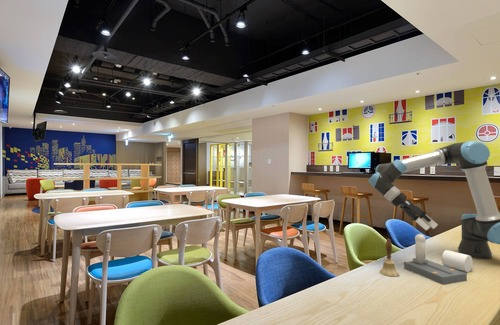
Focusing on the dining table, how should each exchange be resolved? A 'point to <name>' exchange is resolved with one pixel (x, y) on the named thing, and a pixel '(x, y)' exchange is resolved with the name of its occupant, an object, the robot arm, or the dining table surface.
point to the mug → (457, 261)
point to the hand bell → (389, 262)
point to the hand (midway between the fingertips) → (431, 227)
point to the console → (436, 272)
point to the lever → (420, 249)
